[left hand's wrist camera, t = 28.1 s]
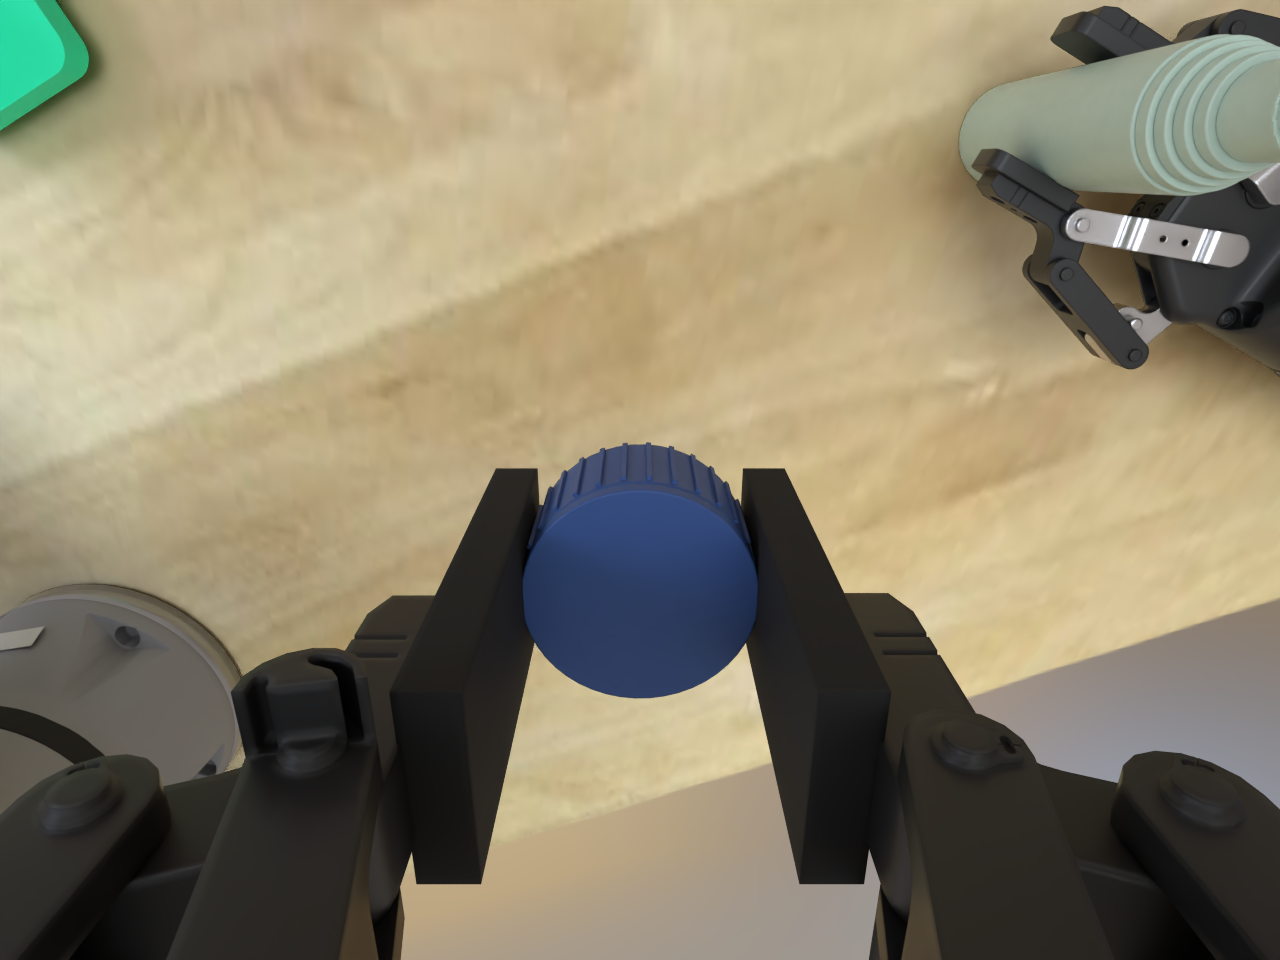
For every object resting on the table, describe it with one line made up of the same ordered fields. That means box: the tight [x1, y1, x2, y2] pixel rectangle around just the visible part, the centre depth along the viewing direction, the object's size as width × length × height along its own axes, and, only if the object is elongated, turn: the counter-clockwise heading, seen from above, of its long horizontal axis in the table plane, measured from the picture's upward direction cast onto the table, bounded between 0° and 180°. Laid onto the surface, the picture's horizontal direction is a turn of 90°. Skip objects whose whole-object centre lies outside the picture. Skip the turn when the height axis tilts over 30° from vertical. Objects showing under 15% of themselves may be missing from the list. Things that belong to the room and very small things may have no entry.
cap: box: [522, 442, 758, 698], centre depth 13 cm, size 4×4×2 cm
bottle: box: [959, 34, 1280, 196], centre depth 28 cm, size 4×4×19 cm
